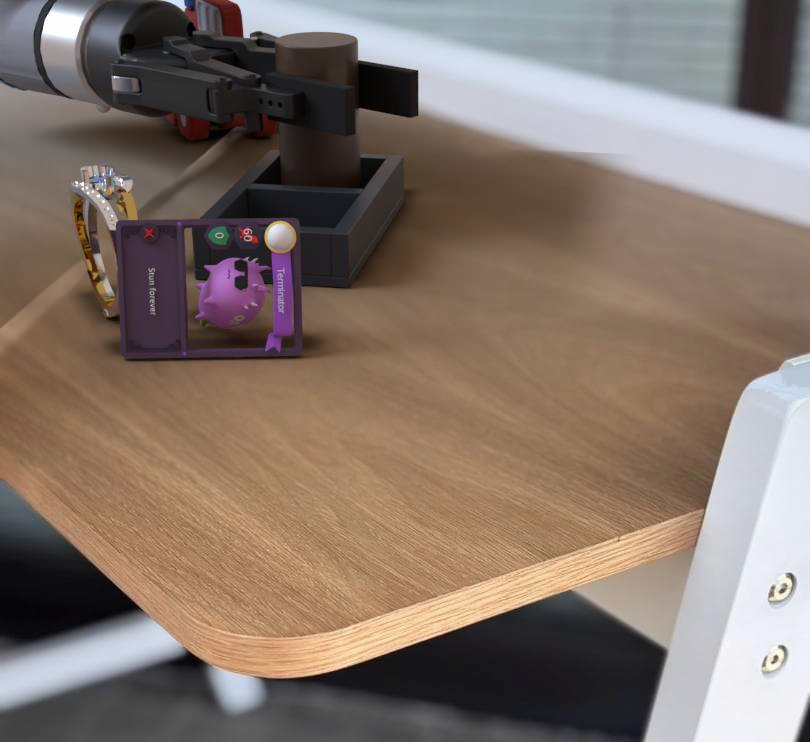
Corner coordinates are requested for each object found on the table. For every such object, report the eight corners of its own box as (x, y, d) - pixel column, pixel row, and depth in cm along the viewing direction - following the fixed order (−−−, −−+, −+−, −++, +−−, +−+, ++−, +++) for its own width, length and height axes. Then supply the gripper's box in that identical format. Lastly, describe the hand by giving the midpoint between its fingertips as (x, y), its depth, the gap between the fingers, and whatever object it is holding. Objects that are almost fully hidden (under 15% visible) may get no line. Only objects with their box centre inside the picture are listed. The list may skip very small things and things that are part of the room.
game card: (112, 219, 73) (298, 216, 73) (128, 224, 78) (302, 222, 78) (119, 359, 74) (302, 356, 74) (134, 354, 79) (305, 352, 79)
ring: (68, 300, 82) (51, 154, 78) (125, 291, 83) (111, 147, 80) (100, 342, 77) (83, 188, 73) (160, 333, 78) (147, 180, 74)
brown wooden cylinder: (323, 203, 91) (317, 51, 87) (265, 189, 94) (257, 40, 90) (377, 185, 95) (374, 38, 90) (319, 172, 97) (314, 28, 93)
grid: (194, 279, 85) (190, 226, 84) (271, 196, 100) (269, 149, 98) (349, 288, 84) (348, 234, 82) (404, 202, 98) (403, 155, 97)
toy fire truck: (240, 110, 122) (232, -26, 117) (286, 145, 111) (280, -2, 106) (156, 118, 119) (144, -20, 114) (195, 155, 109) (184, 5, 104)
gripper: (225, 86, 109) (476, 136, 96) (23, 134, 97) (278, 199, 84) (218, -22, 106) (478, 15, 93) (8, 14, 94) (272, 62, 81)
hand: (382, 102), depth 88 cm, fingers closed on brown wooden cylinder, 5 cm apart
